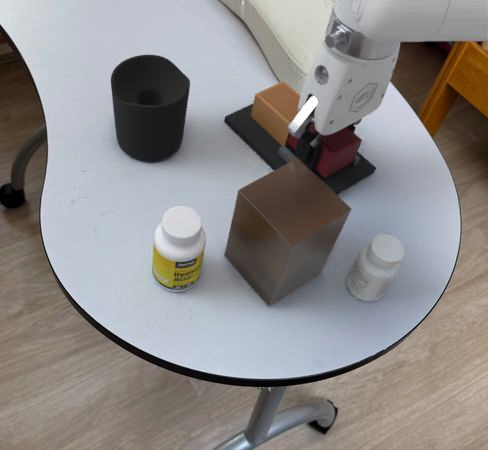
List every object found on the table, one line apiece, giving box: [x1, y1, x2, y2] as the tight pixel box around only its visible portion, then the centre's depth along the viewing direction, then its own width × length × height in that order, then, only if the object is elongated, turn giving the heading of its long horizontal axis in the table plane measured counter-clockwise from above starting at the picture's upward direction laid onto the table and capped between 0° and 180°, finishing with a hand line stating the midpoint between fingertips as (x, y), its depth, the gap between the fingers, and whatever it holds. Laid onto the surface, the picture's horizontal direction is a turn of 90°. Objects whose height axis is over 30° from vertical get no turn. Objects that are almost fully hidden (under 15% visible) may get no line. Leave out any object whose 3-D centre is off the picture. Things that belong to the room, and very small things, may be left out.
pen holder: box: [110, 54, 191, 163], centre depth 74 cm, size 9×9×10 cm
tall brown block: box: [224, 158, 353, 308], centre depth 62 cm, size 8×8×12 cm
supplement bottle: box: [151, 205, 207, 293], centre depth 62 cm, size 5×5×10 cm
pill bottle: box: [346, 234, 405, 302], centre depth 63 cm, size 4×4×8 cm
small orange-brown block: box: [251, 80, 301, 147], centre depth 78 cm, size 7×5×4 cm
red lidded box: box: [288, 123, 363, 178], centre depth 73 cm, size 7×5×4 cm
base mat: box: [224, 103, 377, 196], centre depth 78 cm, size 18×11×2 cm, turn 36°
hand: (321, 150), depth 75 cm, fingers closed on red lidded box, 4 cm apart
